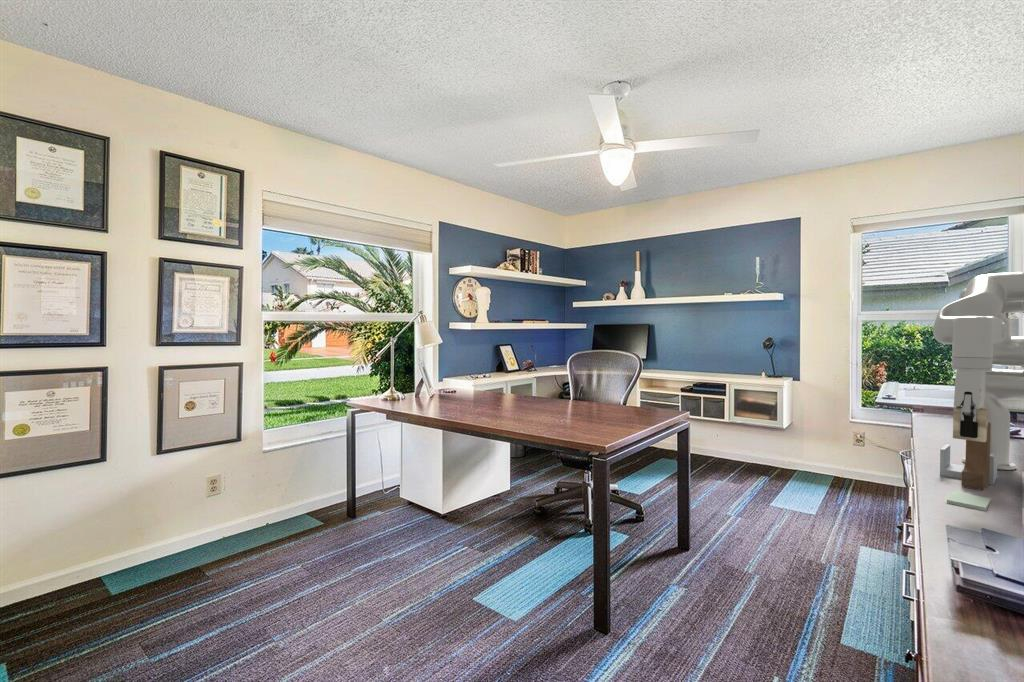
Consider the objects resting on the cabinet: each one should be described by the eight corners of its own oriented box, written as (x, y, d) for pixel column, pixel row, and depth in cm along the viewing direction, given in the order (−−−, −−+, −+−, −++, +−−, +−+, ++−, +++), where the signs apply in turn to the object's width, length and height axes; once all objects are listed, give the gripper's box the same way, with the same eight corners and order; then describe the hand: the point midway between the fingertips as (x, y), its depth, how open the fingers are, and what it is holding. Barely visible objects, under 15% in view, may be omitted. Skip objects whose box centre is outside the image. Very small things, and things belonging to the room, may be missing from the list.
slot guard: (945, 469, 154) (946, 444, 154) (996, 477, 145) (997, 451, 145) (939, 475, 148) (940, 449, 147) (993, 484, 139) (993, 456, 139)
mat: (953, 494, 130) (953, 491, 130) (990, 501, 125) (990, 498, 125) (946, 502, 124) (946, 499, 124) (985, 510, 119) (985, 507, 118)
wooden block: (982, 491, 133) (984, 426, 133) (960, 486, 137) (962, 423, 136) (989, 484, 139) (990, 422, 138) (968, 480, 142) (969, 419, 142)
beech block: (955, 436, 128) (956, 405, 127) (987, 440, 123) (987, 408, 123) (952, 438, 125) (953, 407, 125) (985, 442, 120) (985, 410, 120)
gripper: (957, 362, 132) (955, 429, 132) (946, 364, 121) (944, 437, 121) (995, 364, 126) (994, 434, 127) (988, 366, 115) (986, 443, 116)
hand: (970, 435), depth 124 cm, fingers closed on beech block, 4 cm apart
